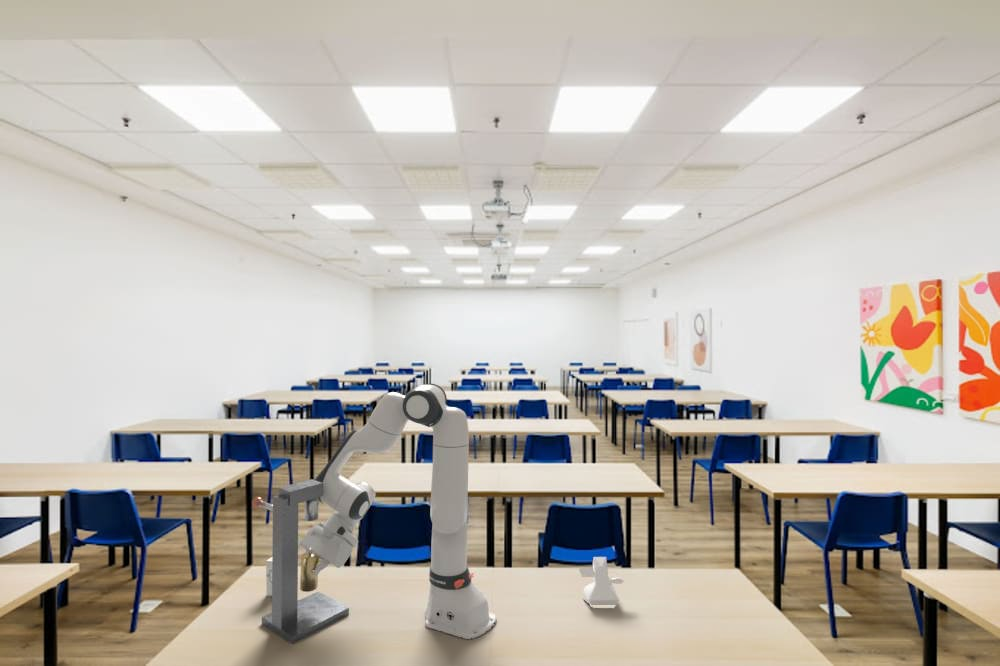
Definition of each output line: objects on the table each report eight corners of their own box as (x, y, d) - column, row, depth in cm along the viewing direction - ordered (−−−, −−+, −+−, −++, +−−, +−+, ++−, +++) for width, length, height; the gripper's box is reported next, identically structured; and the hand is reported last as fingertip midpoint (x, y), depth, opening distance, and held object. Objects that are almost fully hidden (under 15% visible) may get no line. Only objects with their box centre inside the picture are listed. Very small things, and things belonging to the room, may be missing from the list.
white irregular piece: (626, 610, 164) (627, 567, 163) (582, 610, 163) (583, 567, 163) (620, 596, 172) (620, 555, 172) (578, 596, 172) (578, 555, 172)
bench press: (348, 614, 159) (350, 481, 159) (292, 643, 144) (293, 497, 144) (302, 589, 174) (303, 467, 174) (246, 613, 159) (247, 480, 159)
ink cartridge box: (281, 583, 178) (281, 540, 178) (294, 585, 177) (294, 542, 177) (265, 596, 170) (265, 551, 170) (278, 597, 169) (279, 552, 169)
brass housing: (320, 587, 159) (322, 548, 159) (306, 593, 155) (307, 553, 155) (311, 581, 162) (312, 543, 162) (296, 587, 158) (298, 548, 158)
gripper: (313, 516, 171) (283, 554, 163) (350, 533, 158) (320, 576, 150) (324, 526, 174) (296, 564, 166) (361, 544, 161) (332, 586, 154)
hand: (307, 570), depth 158 cm, fingers closed on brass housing, 5 cm apart
